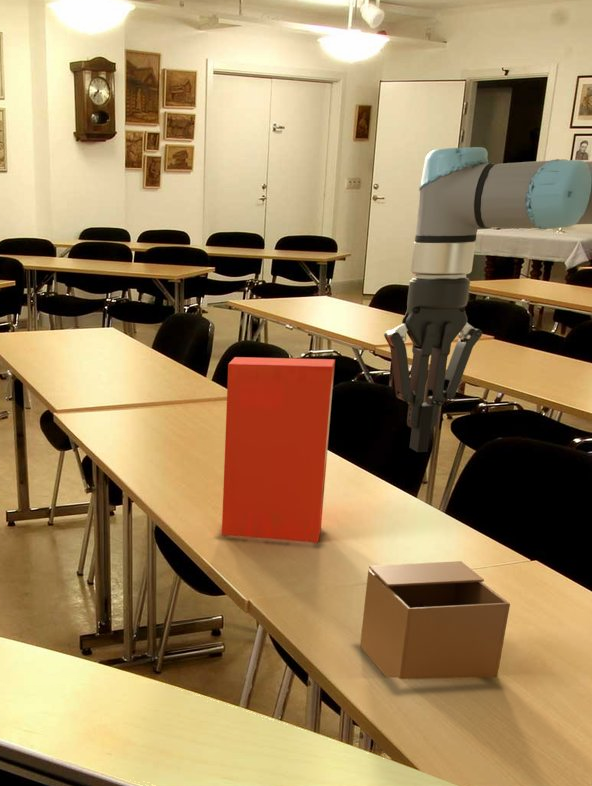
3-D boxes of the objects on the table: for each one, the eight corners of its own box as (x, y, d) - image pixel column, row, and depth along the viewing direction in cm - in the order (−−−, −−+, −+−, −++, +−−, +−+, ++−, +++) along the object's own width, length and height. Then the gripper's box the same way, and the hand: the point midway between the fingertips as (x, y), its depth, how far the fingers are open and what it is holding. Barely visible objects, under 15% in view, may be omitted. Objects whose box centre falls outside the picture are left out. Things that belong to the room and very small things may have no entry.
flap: (369, 567, 122) (369, 565, 122) (460, 563, 123) (461, 561, 123) (387, 586, 116) (387, 584, 116) (483, 581, 117) (484, 579, 117)
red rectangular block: (228, 523, 176) (235, 356, 163) (320, 531, 170) (335, 358, 158) (221, 538, 169) (228, 364, 156) (317, 546, 163) (332, 367, 151)
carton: (359, 646, 126) (368, 570, 122) (449, 641, 127) (460, 565, 123) (397, 691, 115) (408, 609, 110) (495, 685, 115) (510, 603, 111)
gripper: (473, 272, 125) (450, 441, 133) (381, 275, 124) (363, 445, 133) (502, 276, 118) (475, 454, 126) (404, 279, 117) (384, 458, 126)
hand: (418, 449), depth 130 cm, fingers closed
